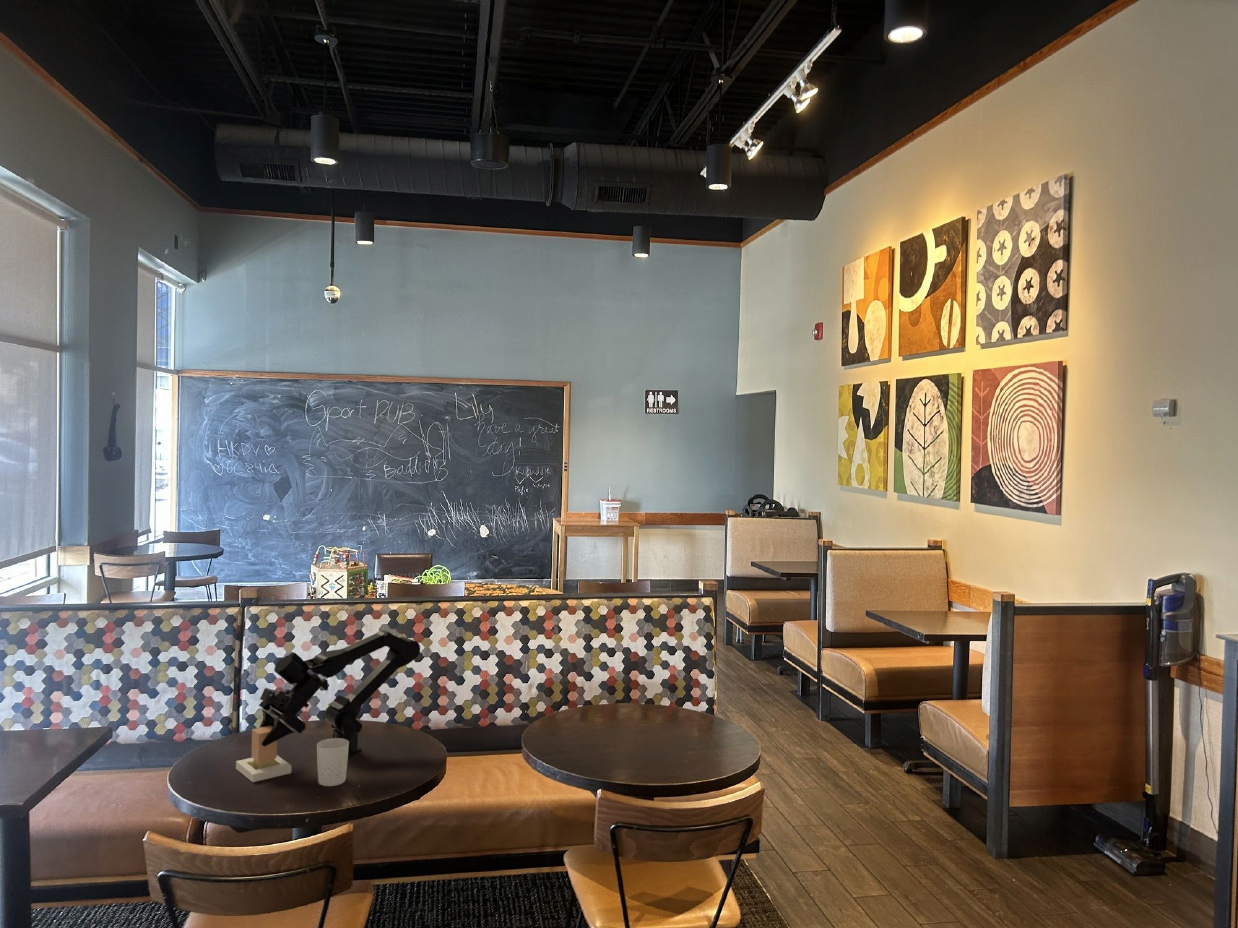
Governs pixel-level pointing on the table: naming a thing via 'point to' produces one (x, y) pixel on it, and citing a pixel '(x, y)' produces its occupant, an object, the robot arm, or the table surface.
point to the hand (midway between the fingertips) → (259, 742)
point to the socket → (263, 769)
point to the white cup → (332, 761)
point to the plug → (263, 748)
